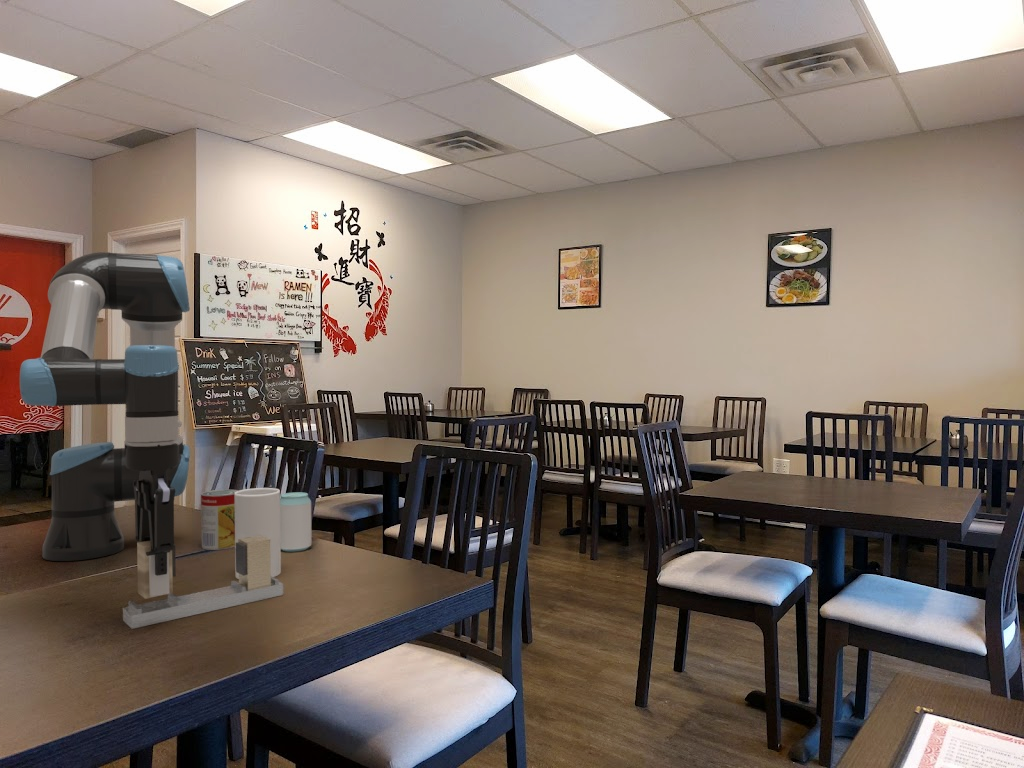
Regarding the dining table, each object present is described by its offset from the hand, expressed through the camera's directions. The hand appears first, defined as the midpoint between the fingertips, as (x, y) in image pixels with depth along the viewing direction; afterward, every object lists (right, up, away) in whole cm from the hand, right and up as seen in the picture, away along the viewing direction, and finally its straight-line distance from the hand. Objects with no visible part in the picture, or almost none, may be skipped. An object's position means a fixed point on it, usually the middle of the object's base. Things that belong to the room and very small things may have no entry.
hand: (154, 591), depth 113 cm
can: (+9, -4, +44) cm, 45 cm away
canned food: (-9, -4, +47) cm, 48 cm away
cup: (+8, -4, +25) cm, 26 cm away
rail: (+6, -4, +6) cm, 9 cm away
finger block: (0, 0, 0) cm, 1 cm away
